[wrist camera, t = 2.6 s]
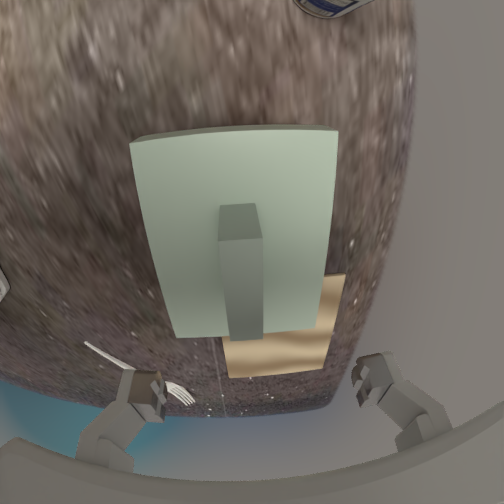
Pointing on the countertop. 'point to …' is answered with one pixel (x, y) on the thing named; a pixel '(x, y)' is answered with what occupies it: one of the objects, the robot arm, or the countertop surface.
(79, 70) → the countertop surface
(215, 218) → the lid
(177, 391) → the fork
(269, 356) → the tan flat sheet
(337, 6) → the pill bottle
